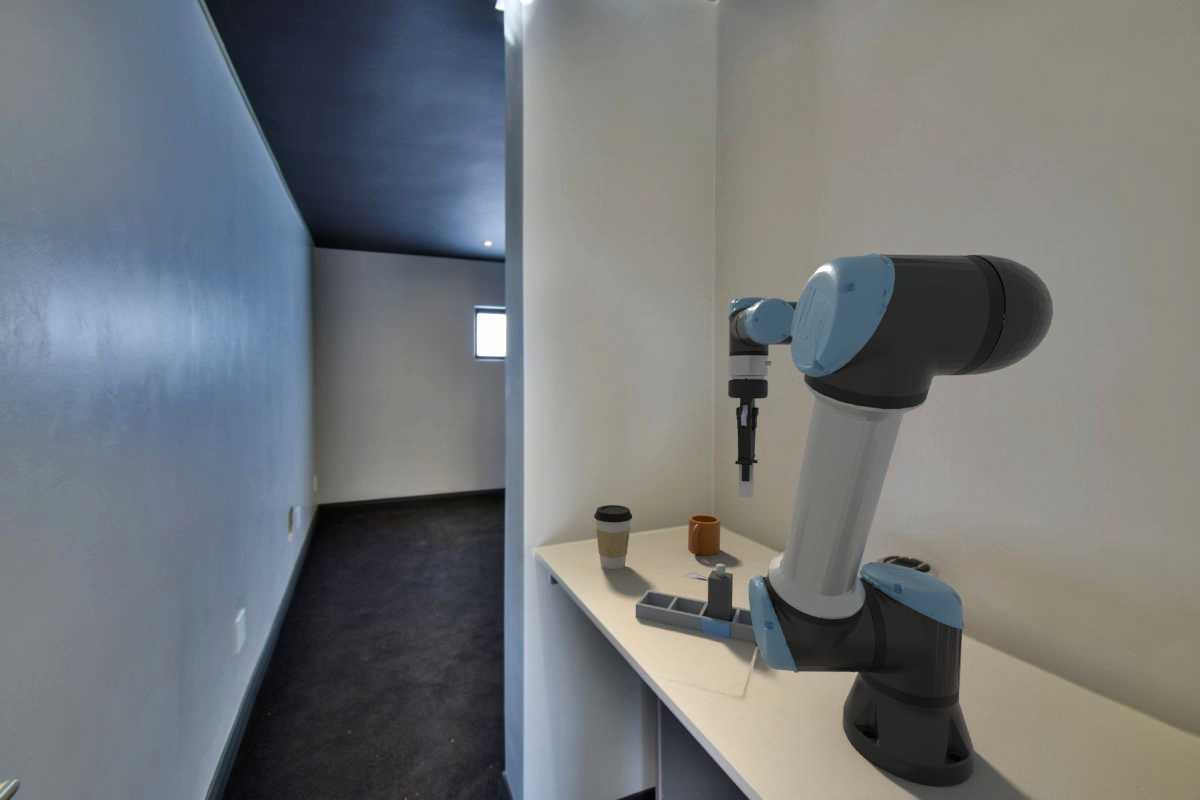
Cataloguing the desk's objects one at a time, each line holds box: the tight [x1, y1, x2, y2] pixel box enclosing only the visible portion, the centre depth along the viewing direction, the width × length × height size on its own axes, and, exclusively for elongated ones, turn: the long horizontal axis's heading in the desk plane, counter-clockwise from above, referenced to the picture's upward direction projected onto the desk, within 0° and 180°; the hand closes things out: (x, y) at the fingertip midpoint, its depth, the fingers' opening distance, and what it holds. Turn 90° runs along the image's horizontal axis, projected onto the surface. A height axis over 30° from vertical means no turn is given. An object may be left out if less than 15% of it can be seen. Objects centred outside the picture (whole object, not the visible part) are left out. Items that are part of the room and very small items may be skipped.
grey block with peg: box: [707, 563, 734, 622], centre depth 98 cm, size 4×4×12 cm
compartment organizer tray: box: [635, 589, 758, 648], centre depth 99 cm, size 8×26×3 cm, turn 66°
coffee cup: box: [593, 504, 633, 570], centre depth 129 cm, size 10×10×15 cm
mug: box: [687, 514, 721, 556], centre depth 141 cm, size 9×12×9 cm
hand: (745, 496), depth 100 cm, fingers closed
